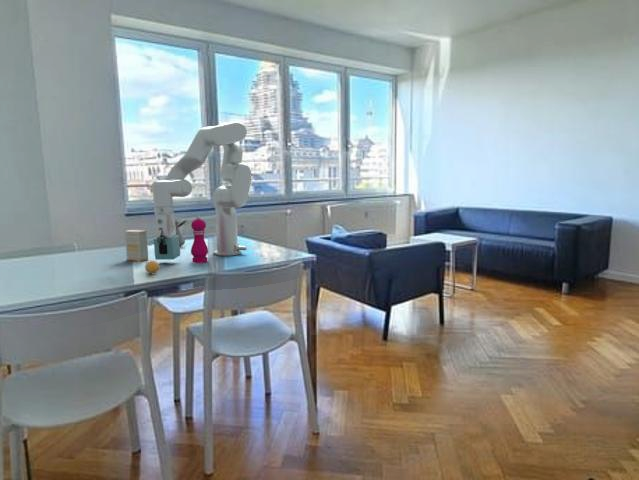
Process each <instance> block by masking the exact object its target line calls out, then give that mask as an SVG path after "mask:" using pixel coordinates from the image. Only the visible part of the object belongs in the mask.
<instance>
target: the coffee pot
mask: <svg viewBox="0 0 639 480" xmlns="http://www.w3.org/2000/svg"><path fill="white" fill-rule="evenodd" d="M183 225H188V223H187V220H183V221H182V222H180V221H176V220H175V226H176V235H179V246H180V248H182V246H184V245H185V243H186V239H185V238H184V236H183V234H182V231H181V230H180V227H181V226H183Z"/></svg>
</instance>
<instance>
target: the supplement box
mask: <svg viewBox="0 0 639 480" xmlns="http://www.w3.org/2000/svg"><path fill="white" fill-rule="evenodd" d="M124 234H125V248H126V249H125V250H126V251H125V252H126V260H127V261H131V262H132V261H133V262H145V261H148V260H149V251H148V250H149V249H148V235H147V234H148V233H147V230H146V229H145V230H143V229H128V230H125V231H124Z"/></svg>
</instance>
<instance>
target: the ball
mask: <svg viewBox="0 0 639 480" xmlns="http://www.w3.org/2000/svg"><path fill="white" fill-rule="evenodd" d="M145 270H146V272H147V273H149V274H152V275H154V274H156V273H157V272H158V271H159V270H160V265H159V263H158V261H157V260H149V261H147V262H146V263H145Z"/></svg>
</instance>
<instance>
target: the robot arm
mask: <svg viewBox="0 0 639 480" xmlns="http://www.w3.org/2000/svg"><path fill="white" fill-rule="evenodd" d="M247 133H248V130H247V128H246V125H245V124H244V123H243V122H241V121H228V122H222V123H219V124H218V125H214V126H205V127H202V128H200V129H199V130H197V132H196V134H195V136H194V138H193V140H192V141H191V144H190V145H189V147H188V148H187V150H186V152H185V154H184V155H183V156H182V157H181V158H180V159H179V160H178V161H177V162H176V163H175V164H174V165H173V166H172V168H171V169H170V170H169V171H168V173H167V175H166V177H165V179H164V180H163V179H160V180H154V181H153V182H152V183H151V184H152V185H151V186H152V187H151V188H152V198H153V209H154V210H153V211H154V215H155V229H156V237H157V241H158V245H159V254H167V244H166V238H171V237H173V236H175V235H176V226H175V221H176V220H175V215H174V213H175V212H174V201H173V200H174V199H173V198H185V197H188V196H189V195H191V193H192V191H193V185H192V183H191V182H190V180H189V181H188V180H187V179H186V177H188V175H189V174H191V173H192V172H194V171H195V170H198V169H199V168H200V167H202V166H203V165H204V164H205V162H206V160H207V158H208V156H209V154H210V153H211V151H212V150H213V148H214V147H222V148H223V157H222V163H221V167H220V168H221V169H220V175H219V176H220V179H221V181H222V182H224V183H227V184H231V185H221V186H218V187H217V188H215V190H214V192H213V197H212V198H213V204H214V209H215V225H216V230H215V231H216V250H214V251H213V254H214V255H216V256H223V257H227V256H229V257H230V256H237V255H240V254H241V253H242V251H247V250H248V249H247V246H246V245H240V243H239V242H238V213H237V210H236V209H239V208H242V207H244V206H245V205H246V204H247V202H248V198H249V193H250V188H251V181H252V171H251V168H250V166H249V165H248V164H247V163H244V162H243V154H244V153H243V152H244V151H243V147H242V145H241V143H240V142H241V141H243V140H244V139H245V138H246V136H247ZM163 239H164V241H163Z"/></svg>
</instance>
